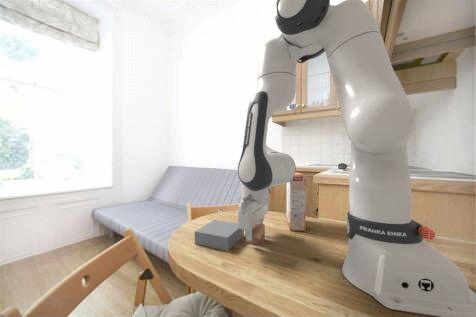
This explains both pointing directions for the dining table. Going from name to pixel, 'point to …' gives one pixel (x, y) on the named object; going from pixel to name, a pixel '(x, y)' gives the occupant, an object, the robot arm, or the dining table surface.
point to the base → (219, 235)
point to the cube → (257, 234)
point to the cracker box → (296, 203)
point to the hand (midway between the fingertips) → (255, 234)
